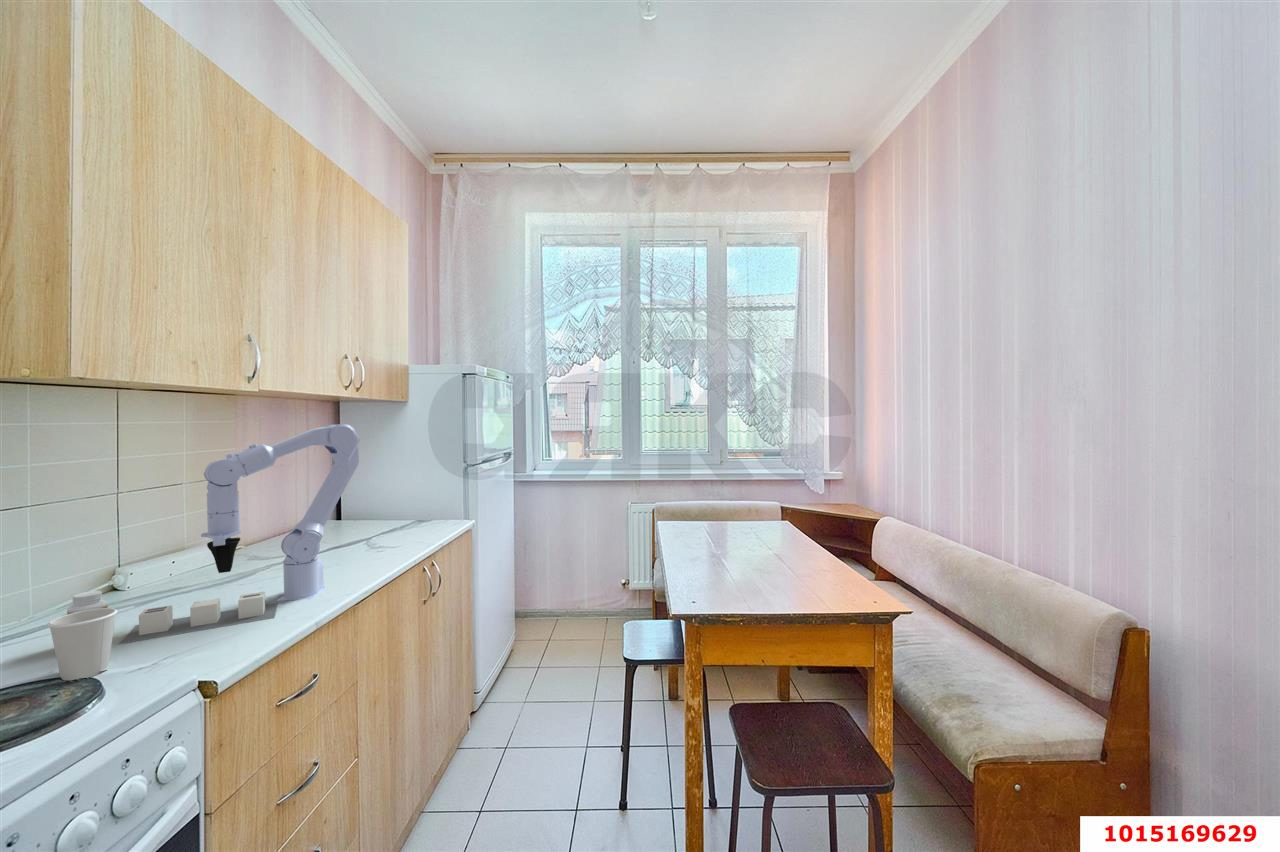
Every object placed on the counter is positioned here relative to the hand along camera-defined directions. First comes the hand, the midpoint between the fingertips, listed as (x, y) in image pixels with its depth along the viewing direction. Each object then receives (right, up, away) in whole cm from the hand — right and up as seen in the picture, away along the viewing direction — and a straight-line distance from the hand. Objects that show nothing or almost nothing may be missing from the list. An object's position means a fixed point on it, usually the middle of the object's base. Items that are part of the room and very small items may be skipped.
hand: (224, 571), depth 122 cm
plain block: (+1, -9, -7) cm, 11 cm away
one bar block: (+8, -9, -3) cm, 12 cm away
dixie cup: (-1, -10, -30) cm, 31 cm away
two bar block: (-6, -9, -11) cm, 15 cm away
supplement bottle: (-13, -10, -17) cm, 24 cm away
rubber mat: (+1, -9, -7) cm, 12 cm away
